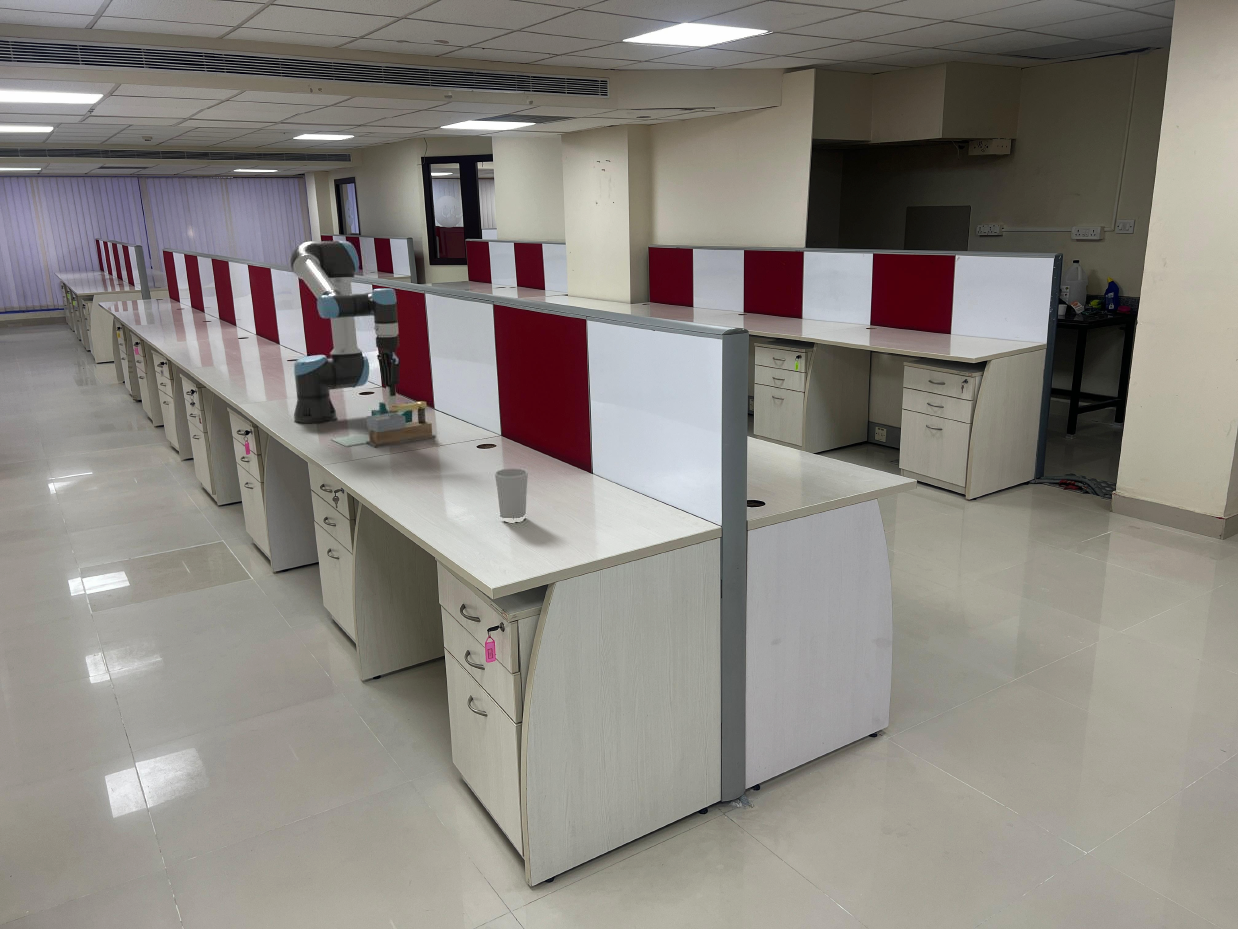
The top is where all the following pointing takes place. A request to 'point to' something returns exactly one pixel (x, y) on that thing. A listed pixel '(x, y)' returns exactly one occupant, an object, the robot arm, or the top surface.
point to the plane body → (403, 433)
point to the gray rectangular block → (386, 422)
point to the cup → (512, 492)
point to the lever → (407, 407)
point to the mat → (352, 440)
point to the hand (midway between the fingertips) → (392, 404)
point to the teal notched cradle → (405, 413)
